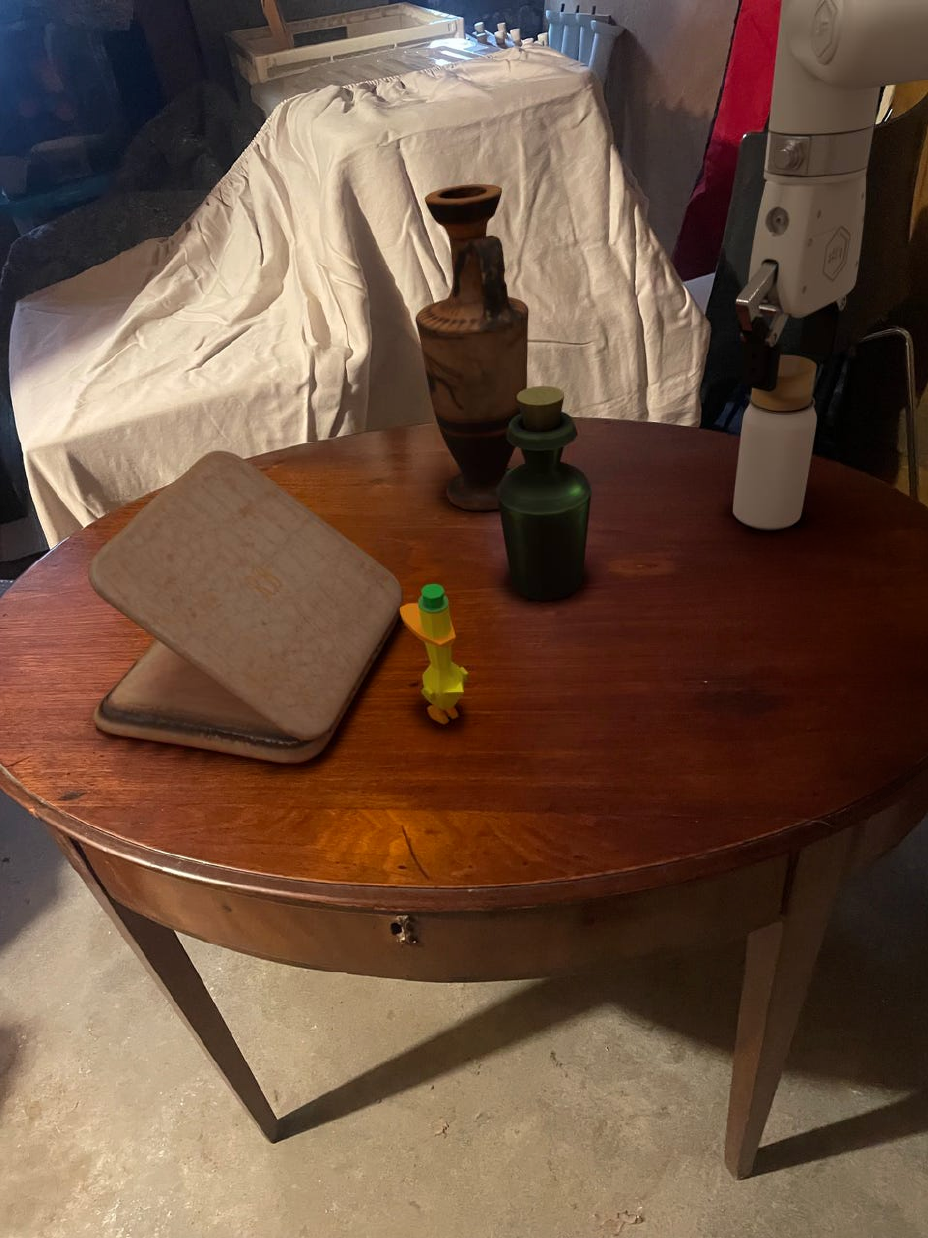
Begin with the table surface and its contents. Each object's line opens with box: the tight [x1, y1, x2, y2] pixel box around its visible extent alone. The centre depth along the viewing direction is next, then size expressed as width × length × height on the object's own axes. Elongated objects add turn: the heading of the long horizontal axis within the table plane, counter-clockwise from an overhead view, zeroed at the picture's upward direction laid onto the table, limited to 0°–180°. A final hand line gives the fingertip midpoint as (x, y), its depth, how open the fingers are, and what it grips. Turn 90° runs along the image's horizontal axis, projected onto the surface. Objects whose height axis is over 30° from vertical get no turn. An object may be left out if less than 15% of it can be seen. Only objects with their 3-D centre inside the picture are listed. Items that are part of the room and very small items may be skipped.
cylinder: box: [750, 354, 818, 411], centre depth 79 cm, size 5×5×3 cm
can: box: [732, 396, 818, 531], centre depth 83 cm, size 6×6×12 cm
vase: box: [414, 183, 530, 512], centre depth 86 cm, size 11×11×30 cm
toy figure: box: [399, 583, 469, 725], centre depth 64 cm, size 7×4×12 cm, turn 37°
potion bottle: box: [497, 385, 592, 601], centre depth 75 cm, size 8×8×18 cm
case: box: [87, 450, 403, 764], centre depth 69 cm, size 20×21×16 cm
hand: (788, 370), depth 78 cm, fingers open, 9 cm apart
